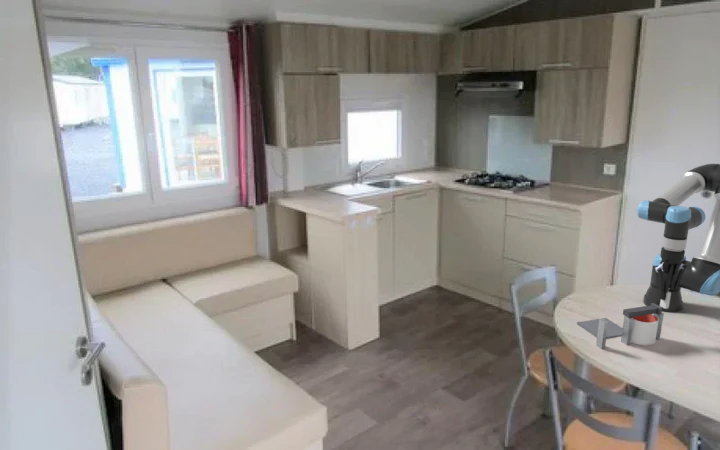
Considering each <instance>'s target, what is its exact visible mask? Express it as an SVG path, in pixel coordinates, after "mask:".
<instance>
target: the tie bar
mask: <svg viewBox="0 0 720 450" xmlns="http://www.w3.org/2000/svg"><path fill="white" fill-rule="evenodd" d="M662 313H663V311H662V307H660V306H658V305H656V304H654V303H651V305H650V306H647V305H645V306H637V307H630V308H624V309H623V311H622V315H623V316H624V315H625V316H627V317H628V318H630V317H636V316H643V315H649V314H653V315H654V314H658V315H661V314H662Z"/></svg>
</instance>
